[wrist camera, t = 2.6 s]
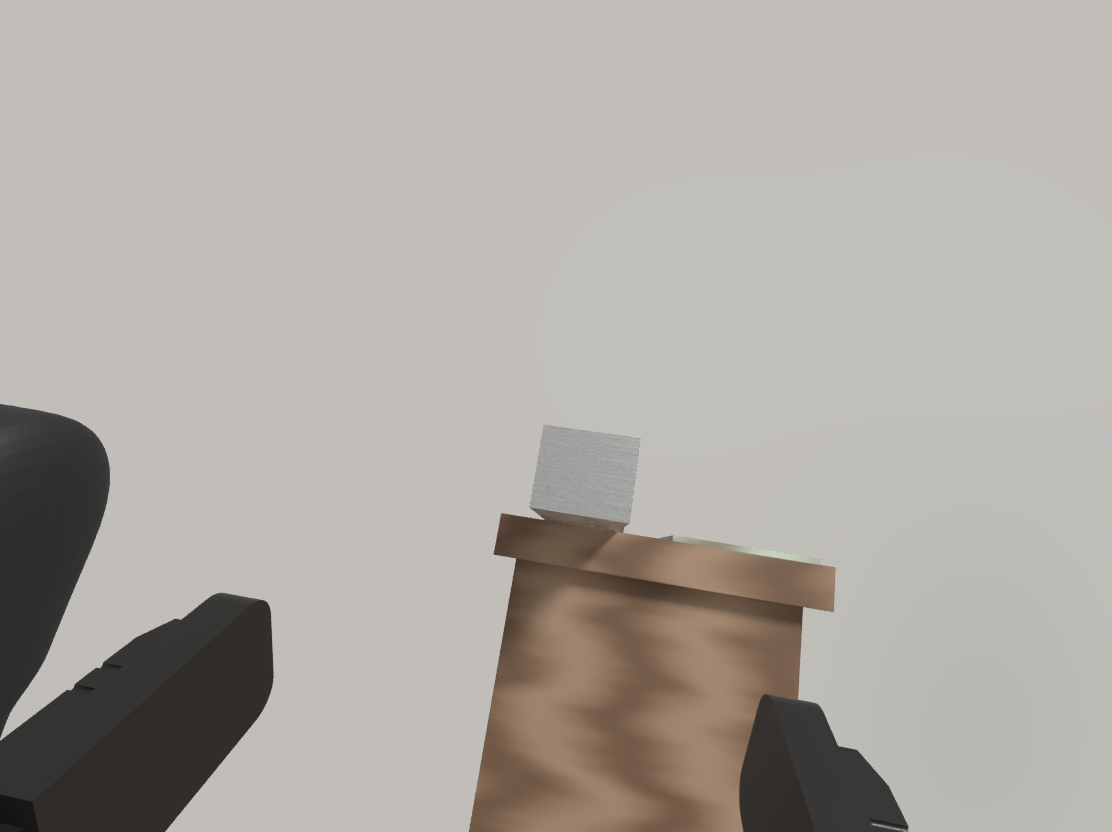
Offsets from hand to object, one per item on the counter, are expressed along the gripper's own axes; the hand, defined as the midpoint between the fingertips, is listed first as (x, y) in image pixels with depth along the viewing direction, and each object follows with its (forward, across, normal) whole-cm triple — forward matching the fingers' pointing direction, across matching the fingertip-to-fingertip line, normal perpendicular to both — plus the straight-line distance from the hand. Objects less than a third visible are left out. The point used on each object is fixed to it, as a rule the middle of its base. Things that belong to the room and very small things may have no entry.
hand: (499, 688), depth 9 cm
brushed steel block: (+19, -1, +7) cm, 20 cm away
